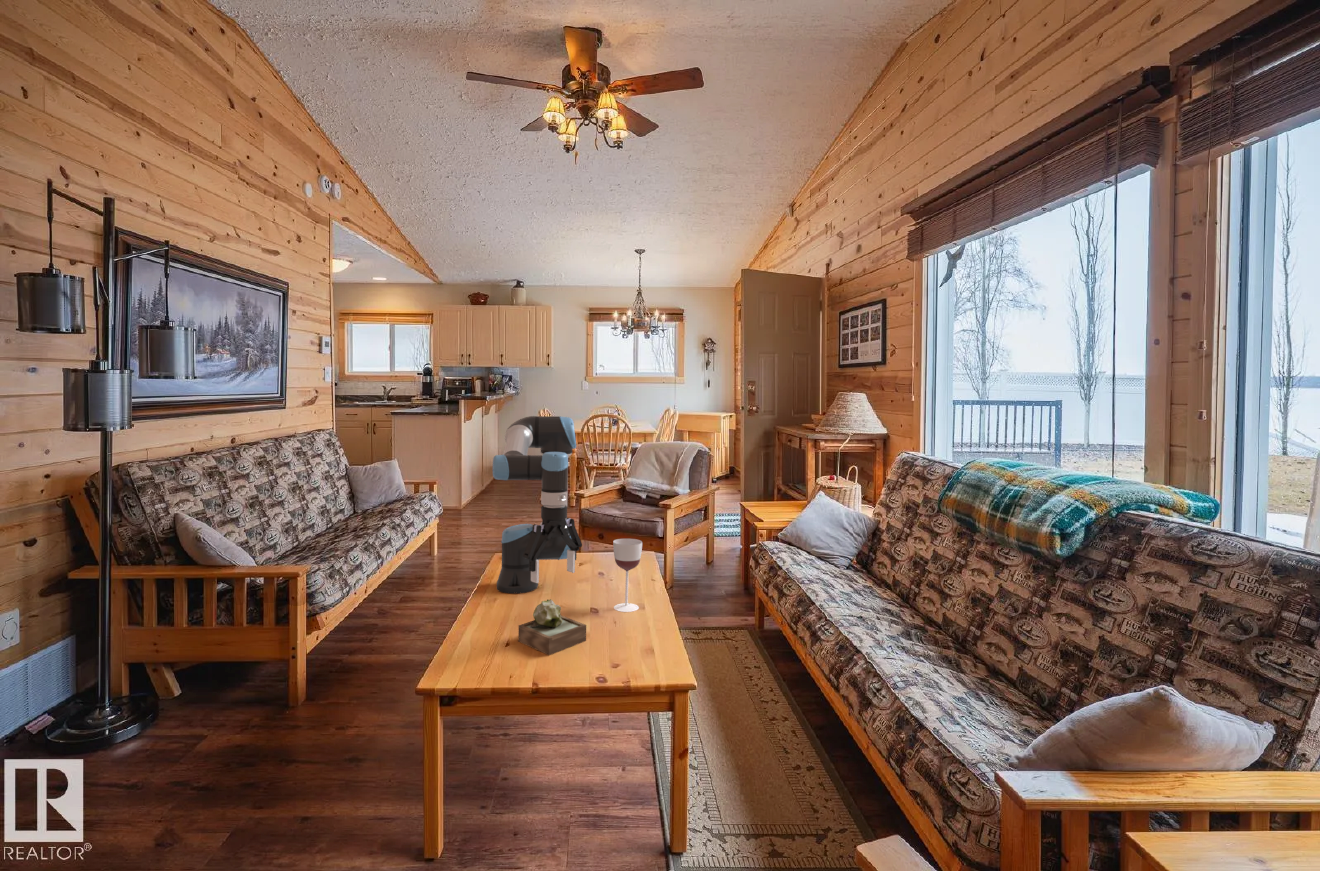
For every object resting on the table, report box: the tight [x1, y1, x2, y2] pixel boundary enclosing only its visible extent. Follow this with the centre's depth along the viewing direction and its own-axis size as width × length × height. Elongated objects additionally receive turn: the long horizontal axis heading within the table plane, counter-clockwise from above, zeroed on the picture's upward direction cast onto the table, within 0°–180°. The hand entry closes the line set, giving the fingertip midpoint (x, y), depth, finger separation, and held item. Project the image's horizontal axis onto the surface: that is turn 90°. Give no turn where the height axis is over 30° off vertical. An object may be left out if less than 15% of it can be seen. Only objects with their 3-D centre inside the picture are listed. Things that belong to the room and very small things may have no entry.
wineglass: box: [612, 538, 643, 613], centre depth 209 cm, size 9×10×23 cm
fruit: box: [530, 599, 562, 628], centre depth 180 cm, size 9×9×8 cm
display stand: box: [517, 614, 587, 656], centre depth 179 cm, size 14×14×5 cm
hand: (553, 576), depth 178 cm, fingers open, 13 cm apart
